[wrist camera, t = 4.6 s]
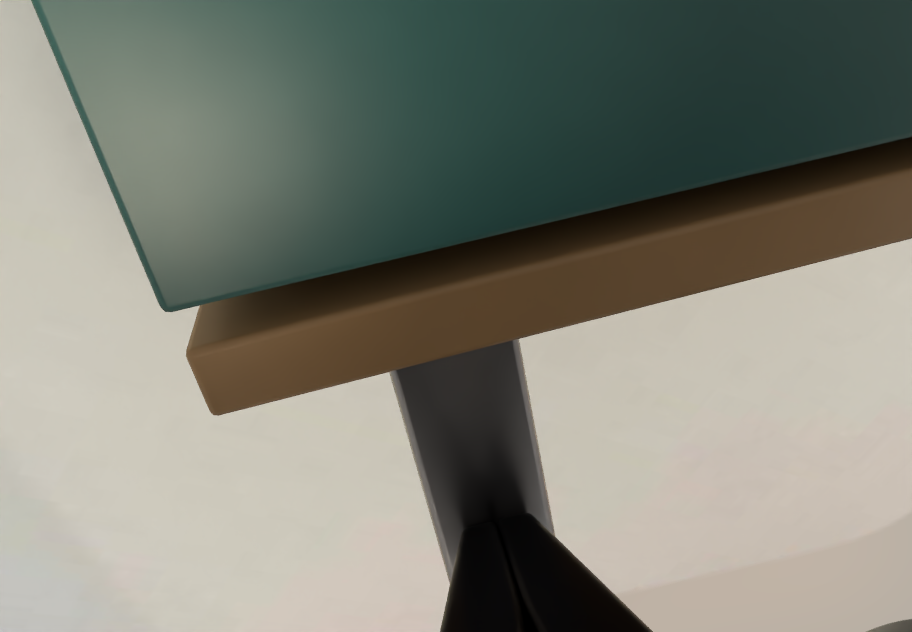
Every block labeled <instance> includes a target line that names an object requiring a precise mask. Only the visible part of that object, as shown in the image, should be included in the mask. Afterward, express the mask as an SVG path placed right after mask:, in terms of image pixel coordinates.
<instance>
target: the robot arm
mask: <svg viewBox="0 0 912 632" xmlns="http://www.w3.org/2000/svg"><path fill="white" fill-rule="evenodd" d="M440 632H653V631H652V630H651V629H649V627H647V626H646V625H645V624H644V623H643V622H642V621H641V620H640V619H639V618H638V617H637V616H636V615H635V614H634V613H633V612H632V611H631V610H630V609H629V608H628V607H627V606H626V605H625V604H624V603H623V602H622V601H621V600H620V599H619V598H618V597H617V596H616V595H615V594H613V593H612V592H611V591H610V590H609V589H608V588H607V587H606V586H605V585H604V584H603V583H602V582H601V581H600V580H599V579H598V578H597V577H596V576H595V575H594V574H593V573H592V572H591V571H590V570H589V569H588V568H587V567H586V566H585V565H584V564H583V563H582V562H581V561H579V560H578V559H577V558H576V557H575V556H574V555H573V554H572V553H571V552H570V551H569V550H568V549H567V548H566V547H565V546H564V545H563V544H562V543H561V542H560V541H559V540H558V539H557V538H556V537H555V536H554V535H553V534H552V533H551V532H550V531H549V530H548V529H547V528H545V527H544V526H543V525H542V524H541V523H540V522H539V521H538V520H537V519H536V518H535V517H534V516H533V515H532V514H530V513H527V512H526V513H521V514H517V515H513V516H509V517H505V518H502V519H500V520H499V521H498V523H497V525H496V524H495V523H494V522H486V523H482V524H478V525H474V526H471V527H467V528H465V529H464V530H463V531H462V533H461V536H460V541H459V545H458V550H457V555H456V559H455V564H454V569H453V574H452V578H451V583H450V588H449V592H448V597H447V602H446V606H445V611H444V616H443V621H442V625H441V630H440Z"/></svg>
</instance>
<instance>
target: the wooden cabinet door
mask: <svg viewBox="0 0 912 632" xmlns="http://www.w3.org/2000/svg"><path fill="white" fill-rule="evenodd" d="M911 238H912V137H909V138H905V139H901V140H896V141H892V142H888V143H884V144H880V145H875V146H871V147H867V148H863V149H858V150H854V151H850V152H846V153H842V154H837V155H833V156H829V157H825V158H820V159H816V160H812V161H808V162H803V163H799V164H795V165H791V166H787V167H782V168H778V169H774V170H770V171H765V172H761V173H757V174H753V175H748V176H744V177H740V178H736V179H732V180H727V181H723V182H719V183H715V184H710V185H706V186H702V187H698V188H694V189H689V190H685V191H681V192H677V193H672V194H668V195H664V196H660V197H655V198H651V199H647V200H643V201H639V202H634V203H630V204H626V205H622V206H617V207H613V208H609V209H605V210H600V211H596V212H592V213H588V214H584V215H579V216H575V217H571V218H567V219H562V220H558V221H554V222H550V223H546V224H541V225H537V226H533V227H529V228H524V229H520V230H516V231H512V232H507V233H503V234H499V235H495V236H491V237H486V238H482V239H478V240H474V241H469V242H465V243H461V244H457V245H452V246H448V247H444V248H440V249H436V250H431V251H427V252H423V253H419V254H414V255H410V256H406V257H402V258H398V259H393V260H389V261H385V262H381V263H376V264H372V265H368V266H364V267H359V268H355V269H351V270H347V271H343V272H338V273H334V274H330V275H326V276H321V277H317V278H313V279H309V280H305V281H300V282H296V283H292V284H288V285H283V286H279V287H275V288H271V289H266V290H262V291H258V292H254V293H250V294H245V295H241V296H237V297H233V298H228V299H224V300H220V301H216V302H211V303H207V304H203V305H200V307H199V310H198V313H197V317H196V320H195V323H194V327H193V330H192V333H191V337H190V340H189V343H188V347H187V350H186V357H187V360H188V362H189V364H190V367H191V369H192V371H193V374H194V376H195V378H196V380H197V383H198V385H199V387H200V390H201V392H202V394H203V397H204V399H205V401H206V404H207V406H208V408H209V410H210V412H211V413H212V414H213V415H222V414H226V413H230V412H234V411H238V410H242V409H246V408H249V407H253V406H257V405H261V404H265V403H269V402H273V401H277V400H281V399H285V398H289V397H292V396H296V395H300V394H304V393H308V392H312V391H316V390H320V389H324V388H328V387H332V386H336V385H339V384H343V383H347V382H351V381H355V380H359V379H363V378H367V377H371V376H375V375H379V374H383V373H386V372H389V373H390V376H391V380H392V383H393V386H394V390H395V393H396V397H397V400H398V404H399V407H400V411H401V414H402V418H403V421H404V425H405V428H406V432H407V435H408V439H409V442H410V446H411V449H412V453H413V456H414V460H415V463H416V467H417V470H418V474H419V477H420V481H421V484H422V488H423V491H424V495H425V498H426V502H427V505H428V509H429V512H430V516H431V519H432V523H433V526H434V530H435V533H436V537H437V540H438V544H439V547H440V551H441V554H442V558H443V561H444V565H445V568H446V572H447V575H448V579H449V582H450V583H451V578H452V574H453V569H454V564H455V559H456V555H457V550H458V545H459V541H460V536H461V533H462V531H463V530H464V529H465V528H467V527H471V526H474V525H478V524H482V523H486V522H494V523H495V524H496V525H497V523H498V521H499V520H500V519H502V518H505V517H509V516H513V515H517V514H521V513H526V512H527V513H530V514H532V515H533V516H534V517H535V518H536V519H537V520H538V521H539V522H540V523H541V524H542V525H543V526H544V527H545V528H547V529H548V530H549V531H550V532H551V533H552V534H553V535H554V536H555V533H554V527H553V522H552V516H551V511H550V505H549V500H548V495H547V489H546V484H545V478H544V473H543V468H542V462H541V457H540V451H539V446H538V440H537V435H536V430H535V424H534V419H533V413H532V408H531V403H530V397H529V392H528V386H527V381H526V375H525V370H524V365H523V359H522V354H521V348H520V343H519V339H520V338H523V337H527V336H531V335H535V334H539V333H543V332H547V331H551V330H555V329H559V328H563V327H566V326H570V325H574V324H578V323H582V322H586V321H590V320H594V319H598V318H602V317H606V316H610V315H613V314H617V313H621V312H625V311H629V310H633V309H637V308H641V307H645V306H649V305H653V304H657V303H660V302H664V301H668V300H672V299H676V298H680V297H684V296H688V295H692V294H696V293H700V292H703V291H707V290H711V289H715V288H719V287H723V286H727V285H731V284H735V283H739V282H743V281H747V280H750V279H754V278H758V277H762V276H766V275H770V274H774V273H778V272H782V271H786V270H790V269H794V268H797V267H801V266H805V265H809V264H813V263H817V262H821V261H825V260H829V259H833V258H837V257H840V256H844V255H848V254H852V253H856V252H860V251H864V250H868V249H872V248H876V247H880V246H884V245H887V244H891V243H895V242H899V241H903V240H907V239H911Z"/></svg>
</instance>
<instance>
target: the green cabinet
mask: <svg viewBox="0 0 912 632" xmlns="http://www.w3.org/2000/svg"><path fill="white" fill-rule="evenodd" d="M31 1H32V4H33V6H34V8H35V11H36V13H37V15H38V18H39V20H40V23H41V25H42V27H43V30H44V32H45V34H46V37H47V39H48V42H49V44H50V46H51V49H52V51H53V53H54V56H55V58H56V61H57V63H58V65H59V68H60V70H61V72H62V75H63V77H64V80H65V82H66V84H67V87H68V89H69V91H70V94H71V96H72V99H73V101H74V103H75V106H76V108H77V110H78V113H79V115H80V118H81V120H82V122H83V125H84V127H85V129H86V132H87V134H88V137H89V139H90V141H91V144H92V146H93V148H94V151H95V153H96V156H97V158H98V160H99V163H100V165H101V167H102V170H103V172H104V175H105V177H106V179H107V182H108V184H109V186H110V189H111V191H112V194H113V196H114V198H115V201H116V203H117V205H118V208H119V210H120V213H121V215H122V217H123V220H124V222H125V224H126V227H127V229H128V232H129V234H130V236H131V239H132V241H133V243H134V246H135V248H136V251H137V253H138V255H139V258H140V260H141V262H142V265H143V267H144V270H145V272H146V274H147V277H148V279H149V281H150V284H151V286H152V289H153V291H154V293H155V296H156V298H157V300H158V303H159V305H160V306H161V308H162V309H163V310H164V311H165V312H173V311H178V310H182V309H186V308H190V307H195V306H199V305H203V304H207V303H211V302H216V301H220V300H224V299H228V298H233V297H237V296H241V295H245V294H250V293H254V292H258V291H262V290H266V289H271V288H275V287H279V286H283V285H288V284H292V283H296V282H300V281H305V280H309V279H313V278H317V277H321V276H326V275H330V274H334V273H338V272H343V271H347V270H351V269H355V268H359V267H364V266H368V265H372V264H376V263H381V262H385V261H389V260H393V259H398V258H402V257H406V256H410V255H414V254H419V253H423V252H427V251H431V250H436V249H440V248H444V247H448V246H452V245H457V244H461V243H465V242H469V241H474V240H478V239H482V238H486V237H491V236H495V235H499V234H503V233H507V232H512V231H516V230H520V229H524V228H529V227H533V226H537V225H541V224H546V223H550V222H554V221H558V220H562V219H567V218H571V217H575V216H579V215H584V214H588V213H592V212H596V211H600V210H605V209H609V208H613V207H617V206H622V205H626V204H630V203H634V202H639V201H643V200H647V199H651V198H655V197H660V196H664V195H668V194H672V193H677V192H681V191H685V190H689V189H694V188H698V187H702V186H706V185H710V184H715V183H719V182H723V181H727V180H732V179H736V178H740V177H744V176H748V175H753V174H757V173H761V172H765V171H770V170H774V169H778V168H782V167H787V166H791V165H795V164H799V163H803V162H808V161H812V160H816V159H820V158H825V157H829V156H833V155H837V154H842V153H846V152H850V151H854V150H858V149H863V148H867V147H871V146H875V145H880V144H884V143H888V142H892V141H896V140H901V139H905V138H909V137H912V0H31Z"/></svg>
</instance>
